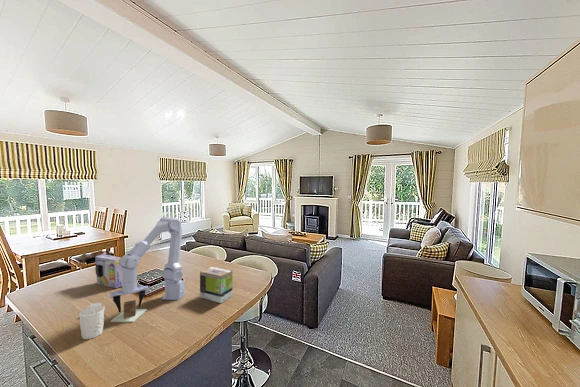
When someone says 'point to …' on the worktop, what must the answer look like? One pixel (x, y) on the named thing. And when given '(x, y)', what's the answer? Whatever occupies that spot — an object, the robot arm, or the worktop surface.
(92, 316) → the white cup
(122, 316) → the coaster
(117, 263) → the cake pan box
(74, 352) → the worktop surface
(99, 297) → the worktop surface
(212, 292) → the tea box
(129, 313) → the walnut block
